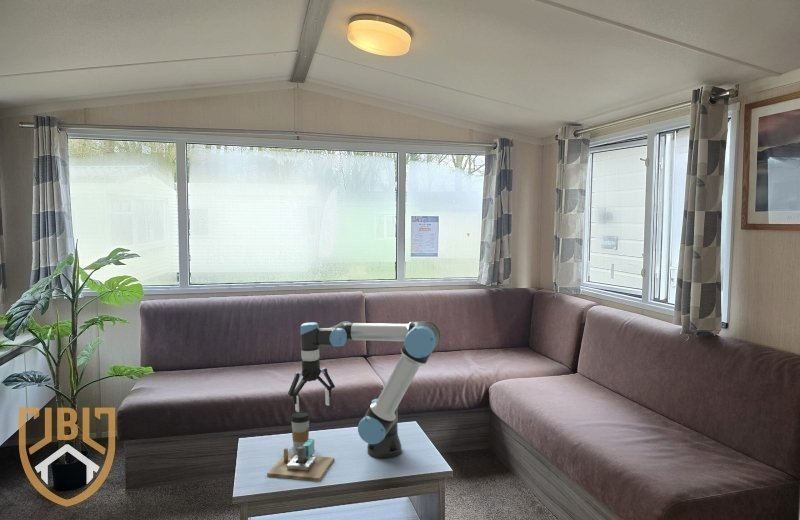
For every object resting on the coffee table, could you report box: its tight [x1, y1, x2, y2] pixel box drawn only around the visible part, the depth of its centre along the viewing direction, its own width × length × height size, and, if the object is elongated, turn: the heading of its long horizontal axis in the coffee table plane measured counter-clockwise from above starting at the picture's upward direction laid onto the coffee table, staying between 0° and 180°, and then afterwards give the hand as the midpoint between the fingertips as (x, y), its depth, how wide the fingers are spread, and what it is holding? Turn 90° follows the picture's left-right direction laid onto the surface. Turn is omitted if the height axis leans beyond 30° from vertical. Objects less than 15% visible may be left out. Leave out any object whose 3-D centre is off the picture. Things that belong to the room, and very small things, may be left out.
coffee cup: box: [290, 411, 311, 451], centre depth 228 cm, size 8×8×15 cm
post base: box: [266, 446, 335, 482], centre depth 208 cm, size 22×18×8 cm
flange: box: [287, 438, 316, 470], centre depth 211 cm, size 9×16×6 cm, turn 169°
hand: (312, 408), depth 217 cm, fingers open, 13 cm apart
